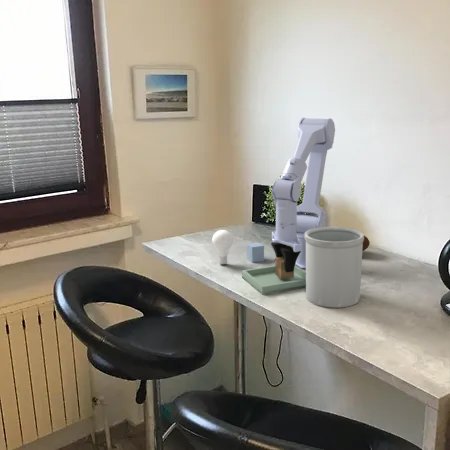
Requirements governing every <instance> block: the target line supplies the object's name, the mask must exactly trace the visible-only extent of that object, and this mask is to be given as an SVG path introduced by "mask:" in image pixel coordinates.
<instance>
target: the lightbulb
mask: <svg viewBox="0 0 450 450" xmlns="http://www.w3.org/2000/svg"><path fill="white" fill-rule="evenodd" d="M211 242H212V245H213V247H214V248H215V250H216V252H217V255H218V264H220V265H222V266H223V265H226V264H227V263H228V255H229V250H230V249H231V247H232V245H233V243H234V237H233V235H232V233H231V232H229V230H226V229H219V230H217V231H216V232H214V233H213V235H212V238H211Z"/></svg>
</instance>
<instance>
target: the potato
mask: <svg viewBox="0 0 450 450" xmlns="http://www.w3.org/2000/svg"><path fill="white" fill-rule="evenodd" d="M370 243H371V242H370V240H369V238H368V237H367V236H366V235H365V234H364V241H363V248H362V252H364V251H366V250H367V249H369V247H370Z"/></svg>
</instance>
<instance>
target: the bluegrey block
mask: <svg viewBox="0 0 450 450" xmlns="http://www.w3.org/2000/svg"><path fill="white" fill-rule="evenodd" d="M246 244H247V245H246V246H247V247H246V251H247V253H246V254H247V255H246V258H247V260H248V261H250V262H251V263H252V264H253V263H259V262H264V261H265V245H264V244H262V243H261V242H251V243H246Z"/></svg>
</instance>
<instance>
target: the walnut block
mask: <svg viewBox="0 0 450 450" xmlns="http://www.w3.org/2000/svg"><path fill="white" fill-rule="evenodd" d="M274 263H275V264H274V266H275V275H277V276H278V277H279V278H280V279H285V278H292V277H294V270H293V272H286V271H285V264H284V258H283V257H277V258H276V257H275V260H274Z"/></svg>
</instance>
